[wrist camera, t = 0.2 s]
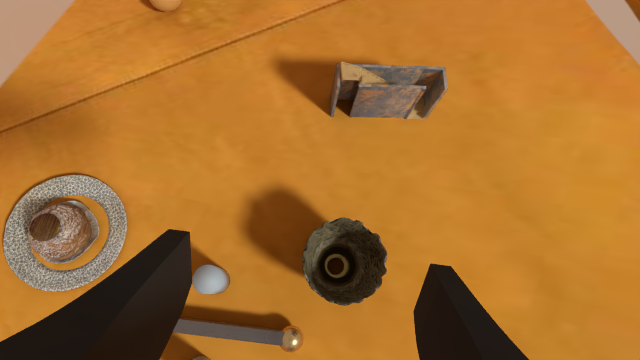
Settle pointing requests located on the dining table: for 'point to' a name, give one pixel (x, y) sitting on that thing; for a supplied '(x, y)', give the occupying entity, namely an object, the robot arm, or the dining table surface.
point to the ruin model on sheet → (388, 90)
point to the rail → (242, 332)
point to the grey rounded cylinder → (210, 279)
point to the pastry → (62, 232)
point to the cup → (344, 261)
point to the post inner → (201, 358)
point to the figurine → (165, 4)
